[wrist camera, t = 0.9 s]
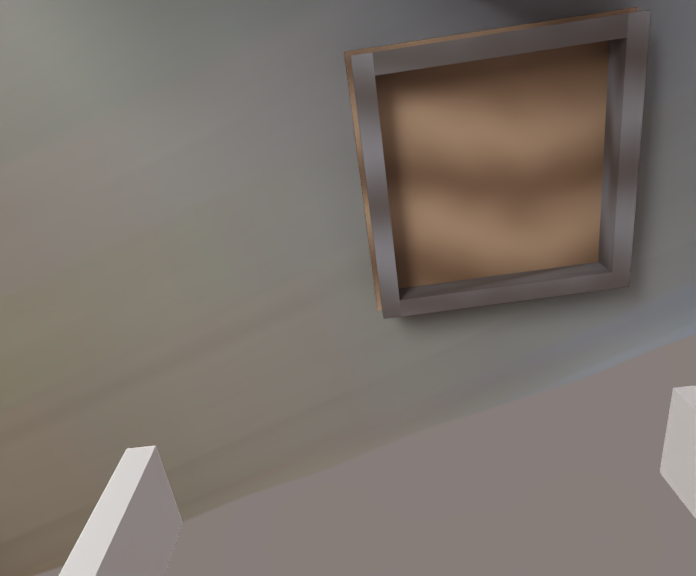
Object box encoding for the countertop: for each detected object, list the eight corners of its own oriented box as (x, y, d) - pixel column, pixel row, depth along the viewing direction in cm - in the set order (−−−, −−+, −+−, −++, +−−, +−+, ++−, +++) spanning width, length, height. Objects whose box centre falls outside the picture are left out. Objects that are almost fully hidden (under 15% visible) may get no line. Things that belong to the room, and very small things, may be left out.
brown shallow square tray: (344, 52, 31) (344, 50, 29) (628, 8, 31) (657, 2, 28) (377, 304, 38) (379, 323, 35) (611, 273, 37) (633, 290, 34)
